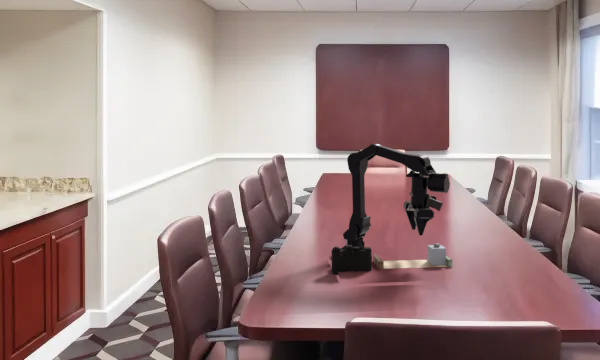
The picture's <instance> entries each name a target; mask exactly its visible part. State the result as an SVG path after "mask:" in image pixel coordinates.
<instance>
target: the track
mask: <svg viewBox="0 0 600 360" xmlns="http://www.w3.org/2000/svg"><path fill="white" fill-rule="evenodd" d="M372 263H374V264H375V265H376V267H377V268H378V269H379V270H383V269H384V270H385V269H389V270H390V269H417V268H419V269H420V268H424V269H425V268H450V269H453V259H452V258H451V257H449V256H448V255H447V254H446V265H431V264H430V263H429V262H427V259H408V260H406V259H405V260H404V259H403V260H400V259H398V260H383V259H382V258H381V257H380V256H379V255H378V254H373V255H372Z"/></svg>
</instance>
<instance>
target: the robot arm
mask: <svg viewBox="0 0 600 360" xmlns="http://www.w3.org/2000/svg"><path fill="white" fill-rule="evenodd" d="M376 156H377V157H381V158H384V159H387V160H389V161H393V162H396V163H400V164H402V165H403V166H404V167H406V168H407V169H408V170H409V169H410V171H408V172H409V173H407V174H405V177H406V178H411V180H410V181H411V183H410V184H411V186H410V191H409V193H408V194H409V196H410V200H406V201H404V202H403V209H404V212H405V214H406V217H407V220H408V222H409V225H410V227H411V230H413V231H414V230H416V229H417V232H418V235H419V236H423V235H424V232H425V229H426V226H427V223H428V222H429V221H430V220H432V219H434V218H435V211H433V210H432V209H435V210H436V211H438V212H440V211H441V209H442V207H443V202H442V201H440V200H437V196H434V195H432V194H431V195H430V194H429V193H428V190H429V192H431V193H432V192H433V193H443V194H448V191H449V189H450V184H451V183H450V179H449V176H448V175H449V174H448V173H446V172H444V173H437V172H436V170H435V168H434V167H433V166H432V165H433V164H432V163H431V159H430V157H429V156H427V155H425V154H418V153H417V154H416V153H407V152H403V151H400V150H397V149H394V148H392V147H388V146H384V145H381V144H379V143H371V144H370V145H369V146H367V147H365V148H363V149H360V150H358V152H357V151H356V152H352V153H350V154H349V155H348V156H347V161H346V162H347V167H348V170H349V173H350V174H351V189H352V190H351V195H352V200H351V201H352V213H351V217H350V218H349V223H348V224H349V225H348V229H346V230H345V231H344V232H343V233H342V237H343V240H345V245H352V246H353V247H360V248H361V246H363V248H364V247H366V245H365V241H364V237H366V234H367V233H368V232H369V230H370V227H372V224H371V216H370V215H368V214H367V213H366V201H365V200H366V199H365V197H366V195H365V194H366V193H365V192H366V191H365V190H366V189H365V186H366V185H365V175H366V172H367V169H368V165H369V161H371V160H372V159H374V158H375V157H376ZM431 208H432V209H431ZM367 215H368V216H367Z"/></svg>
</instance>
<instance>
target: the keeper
mask: <svg viewBox="0 0 600 360" xmlns="http://www.w3.org/2000/svg"><path fill="white" fill-rule="evenodd" d="M426 250H427V255H426V256H427V257H426V258H427V259H426V260H427V262H429V263H430V264H431V265H446V255H447V248H446V247H445V246H444V245H442V244H440V243H439V242H437V243H433V244H427V249H426Z"/></svg>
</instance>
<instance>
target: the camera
mask: <svg viewBox="0 0 600 360" xmlns="http://www.w3.org/2000/svg"><path fill="white" fill-rule="evenodd" d="M330 256H331V274H332V275H333V276H339V275H340V274H339V273H346V272H348V273H352V272H353V273H355V272H371V271H372V270H373V255H372V248H371V247H370V246H364V248H363V246H361V248H360V247H353V246H352V245H346V244H345V245H344V246H342V247H339V246H337V245H335V246H334V247H332V250H331V255H330Z"/></svg>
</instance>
